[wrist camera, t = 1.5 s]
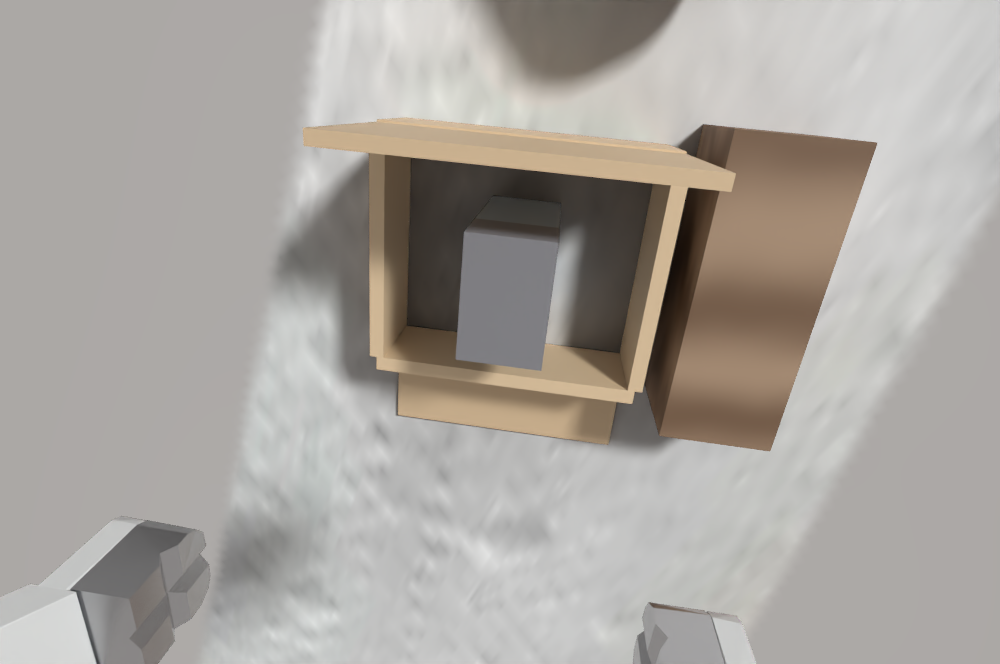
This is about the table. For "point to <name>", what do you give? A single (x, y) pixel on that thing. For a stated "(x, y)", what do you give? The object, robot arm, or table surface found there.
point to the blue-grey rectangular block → (508, 282)
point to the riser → (750, 282)
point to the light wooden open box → (565, 370)
